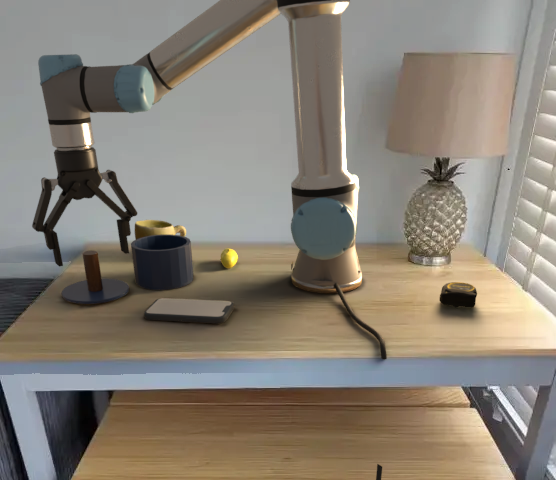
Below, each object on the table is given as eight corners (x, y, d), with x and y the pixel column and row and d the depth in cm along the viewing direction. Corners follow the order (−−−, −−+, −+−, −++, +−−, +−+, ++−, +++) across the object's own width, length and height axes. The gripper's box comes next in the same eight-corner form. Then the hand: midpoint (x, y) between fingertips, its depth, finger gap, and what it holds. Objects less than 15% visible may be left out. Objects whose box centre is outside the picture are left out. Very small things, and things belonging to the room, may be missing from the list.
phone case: (142, 321, 116) (224, 325, 113) (141, 313, 115) (223, 317, 112) (159, 304, 123) (236, 308, 120) (158, 296, 123) (235, 300, 120)
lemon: (218, 270, 141) (217, 254, 139) (222, 259, 148) (221, 244, 146) (236, 270, 141) (236, 254, 139) (239, 260, 148) (239, 244, 146)
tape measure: (437, 308, 120) (439, 290, 118) (442, 296, 125) (444, 279, 124) (473, 313, 118) (476, 295, 116) (476, 300, 123) (479, 283, 122)
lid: (139, 297, 126) (134, 255, 122) (73, 312, 119) (66, 267, 115) (116, 279, 136) (110, 239, 132) (54, 291, 129) (46, 250, 125)
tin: (203, 282, 134) (200, 244, 130) (149, 294, 128) (144, 254, 124) (178, 267, 143) (175, 231, 139) (127, 277, 137) (122, 240, 133)
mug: (126, 256, 144) (133, 213, 143) (134, 256, 154) (140, 217, 153) (178, 265, 145) (185, 223, 144) (182, 265, 155) (189, 226, 154)
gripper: (130, 139, 123) (143, 243, 133) (-1, 152, 111) (25, 265, 121) (144, 143, 117) (157, 251, 127) (8, 157, 105) (34, 275, 115)
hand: (93, 258), depth 124 cm, fingers open, 13 cm apart
